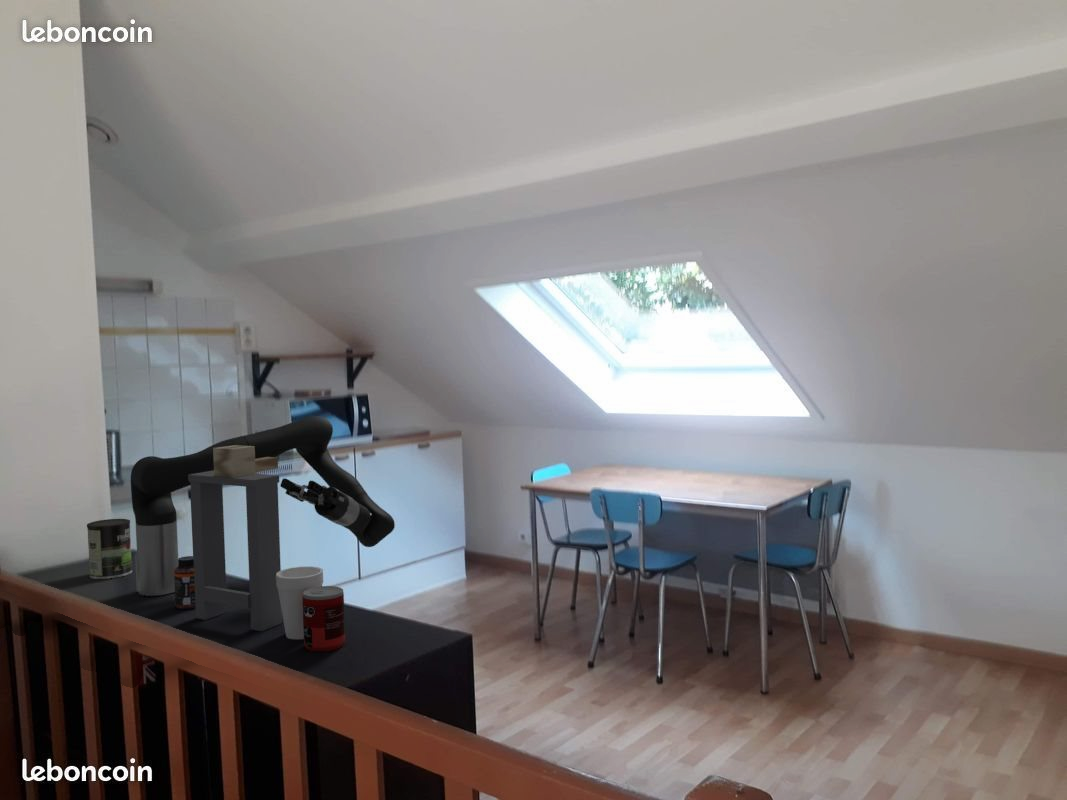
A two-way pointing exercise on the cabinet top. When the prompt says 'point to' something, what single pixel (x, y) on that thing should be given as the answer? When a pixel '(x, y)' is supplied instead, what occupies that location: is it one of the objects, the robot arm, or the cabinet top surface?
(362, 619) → the cabinet top surface
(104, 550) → the coffee can
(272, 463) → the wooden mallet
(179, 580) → the supplement bottle
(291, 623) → the foam cup
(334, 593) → the canned food
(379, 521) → the robot arm
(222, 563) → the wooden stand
